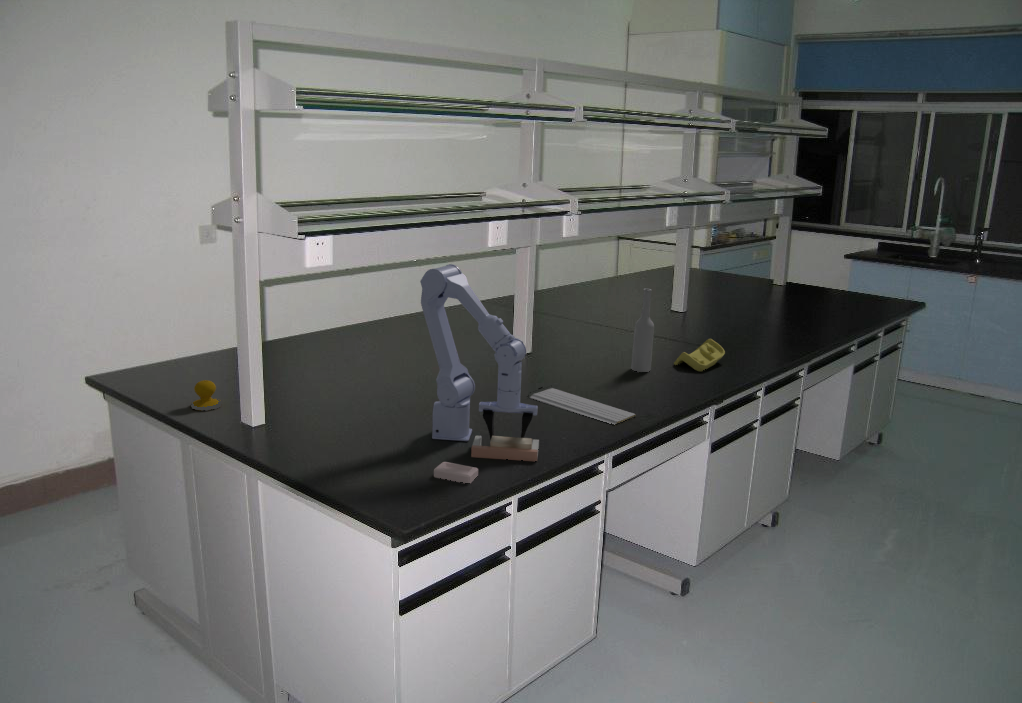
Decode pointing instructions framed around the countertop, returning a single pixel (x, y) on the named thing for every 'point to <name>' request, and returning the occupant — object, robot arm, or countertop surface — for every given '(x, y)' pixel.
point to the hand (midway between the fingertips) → (507, 439)
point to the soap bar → (456, 472)
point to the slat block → (511, 442)
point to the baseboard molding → (582, 406)
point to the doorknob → (205, 393)
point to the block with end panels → (504, 451)
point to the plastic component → (702, 356)
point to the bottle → (643, 337)
